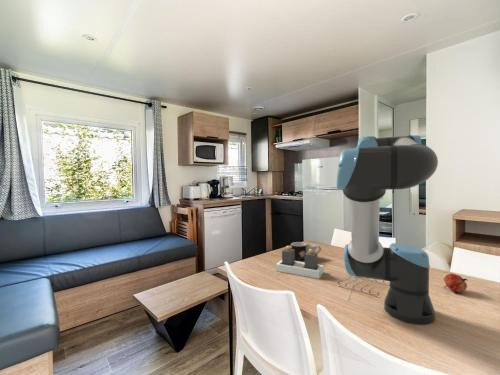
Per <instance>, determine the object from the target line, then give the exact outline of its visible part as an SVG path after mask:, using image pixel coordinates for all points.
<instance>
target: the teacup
mask: <svg viewBox="0 0 500 375" xmlns="http://www.w3.org/2000/svg"><path fill="white" fill-rule="evenodd" d="M306 244H307V245H306V253H307V252H309V249H313V252H315V253H317V255H318V254H319V253H320V252H322V247H321V246H320V245H315V244H314V243H306ZM317 248H318V250H317ZM316 250H317V251H316Z"/></svg>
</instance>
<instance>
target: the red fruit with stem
mask: <svg viewBox="0 0 500 375" xmlns="http://www.w3.org/2000/svg"><path fill="white" fill-rule="evenodd" d="M443 281H444V282H445V286H444V288H448V289H449V291H450V292H452V293H455V292H457V293H458V294H459V293H462V292H464V291H466V289H467V288H468V284H467V282H466V281H468V279H467V278H463V277H462V276H460V275H458V274H454V273H449V274H446V275H445V276H444V277H443ZM457 293H456V294H457Z"/></svg>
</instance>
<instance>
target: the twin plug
mask: <svg viewBox="0 0 500 375" xmlns="http://www.w3.org/2000/svg"><path fill="white" fill-rule="evenodd" d="M315 252H316V251H315ZM315 252H313V249H309V252H307V253H305V254H304V255H305V261H304V262H305V268H306V269H312V270H317V269H318V263H319V262H318V257H319V256H318V254H317V253H315Z"/></svg>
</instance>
